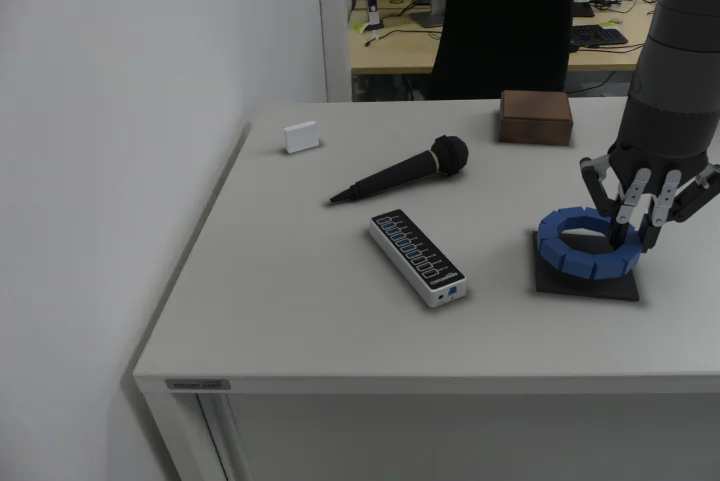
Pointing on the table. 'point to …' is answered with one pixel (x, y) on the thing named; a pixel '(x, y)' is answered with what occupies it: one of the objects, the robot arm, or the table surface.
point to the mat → (575, 285)
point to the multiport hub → (418, 258)
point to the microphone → (413, 168)
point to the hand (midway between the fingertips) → (627, 246)
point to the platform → (535, 117)
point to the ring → (581, 261)
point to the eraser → (301, 136)
